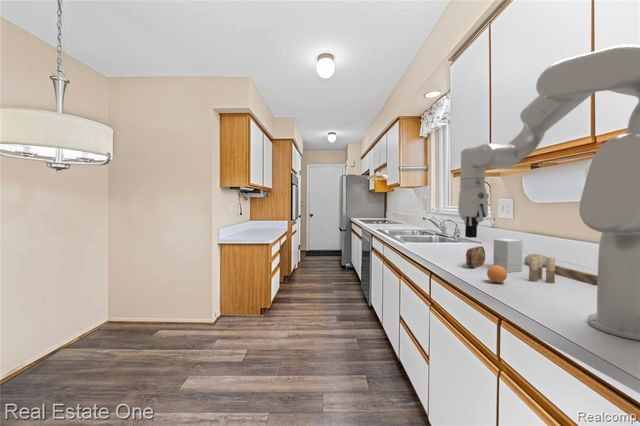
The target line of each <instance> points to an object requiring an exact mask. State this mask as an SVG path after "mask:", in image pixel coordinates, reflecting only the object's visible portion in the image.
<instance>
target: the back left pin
mask: <svg viewBox="0 0 640 426" xmlns="http://www.w3.org/2000/svg"><path fill="white" fill-rule="evenodd" d="M542 255H543V254H539V255H534V257H538V267H537V280H542V279H543V267H542V262H543V256H542Z"/></svg>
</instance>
